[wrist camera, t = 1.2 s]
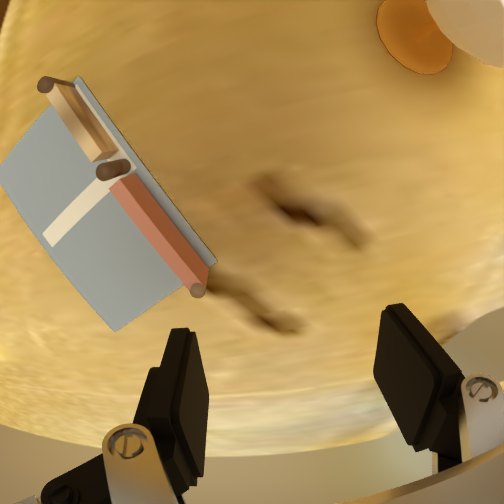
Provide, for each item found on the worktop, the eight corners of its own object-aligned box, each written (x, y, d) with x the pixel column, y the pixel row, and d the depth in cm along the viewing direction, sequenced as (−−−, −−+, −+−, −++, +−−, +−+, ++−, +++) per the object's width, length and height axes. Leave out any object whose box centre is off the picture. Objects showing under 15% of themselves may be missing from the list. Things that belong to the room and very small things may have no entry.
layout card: (-4, 173, 26) (-6, 173, 25) (80, 76, 23) (78, 76, 23) (115, 330, 32) (114, 332, 32) (217, 260, 30) (217, 261, 30)
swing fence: (125, 181, 26) (107, 189, 22) (135, 173, 26) (118, 179, 22) (201, 278, 30) (196, 300, 26) (211, 271, 30) (208, 293, 26)
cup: (469, 27, 22) (582, -1, 6) (445, 109, 26) (581, 112, 10) (381, -34, 20) (470, -115, 4) (346, 46, 24) (455, -29, 8)
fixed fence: (60, 90, 23) (34, 85, 19) (71, 79, 23) (46, 72, 19) (122, 177, 27) (102, 185, 22) (133, 167, 26) (115, 173, 22)
